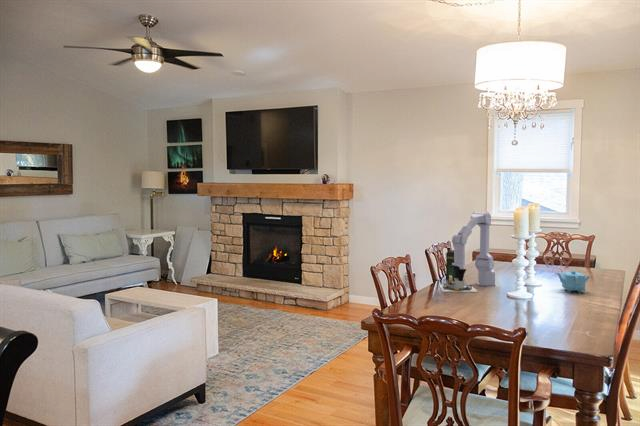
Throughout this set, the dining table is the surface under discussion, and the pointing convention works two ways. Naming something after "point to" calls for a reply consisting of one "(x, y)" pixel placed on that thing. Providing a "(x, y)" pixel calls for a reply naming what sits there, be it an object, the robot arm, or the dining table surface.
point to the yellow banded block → (459, 283)
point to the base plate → (457, 290)
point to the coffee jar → (450, 265)
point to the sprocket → (452, 285)
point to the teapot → (573, 281)
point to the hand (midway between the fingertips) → (459, 279)
